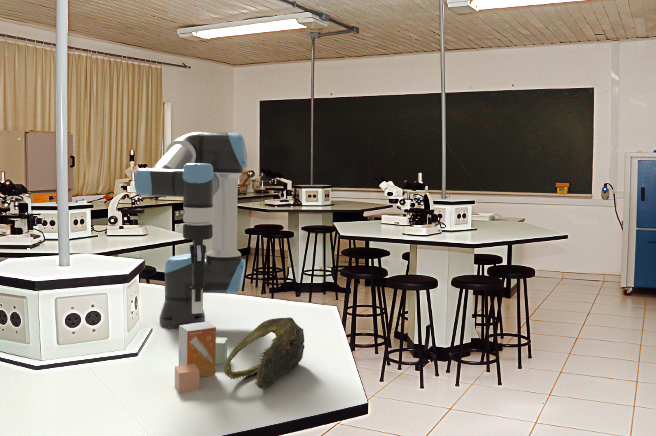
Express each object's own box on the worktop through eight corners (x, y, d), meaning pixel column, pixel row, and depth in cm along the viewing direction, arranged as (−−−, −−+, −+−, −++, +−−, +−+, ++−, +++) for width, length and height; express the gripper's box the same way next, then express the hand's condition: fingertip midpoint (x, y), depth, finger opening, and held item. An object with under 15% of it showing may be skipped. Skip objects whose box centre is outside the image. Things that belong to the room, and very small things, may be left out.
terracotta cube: (174, 385, 152) (174, 366, 152) (194, 382, 154) (194, 363, 154) (178, 393, 148) (178, 373, 147) (199, 390, 150) (199, 370, 149)
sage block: (209, 357, 173) (209, 337, 173) (227, 358, 173) (227, 337, 173) (206, 363, 168) (206, 342, 168) (224, 364, 168) (224, 343, 168)
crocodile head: (259, 337, 177) (293, 305, 172) (292, 384, 172) (327, 352, 167) (201, 353, 153) (238, 317, 148) (237, 409, 148) (276, 373, 143)
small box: (186, 380, 156) (186, 331, 154) (178, 372, 161) (178, 324, 159) (216, 374, 160) (216, 326, 159) (206, 367, 165) (207, 320, 164)
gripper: (182, 220, 161) (181, 307, 164) (183, 226, 149) (183, 320, 151) (210, 220, 163) (209, 305, 166) (214, 226, 151) (214, 318, 153)
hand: (197, 312), depth 159 cm, fingers closed
